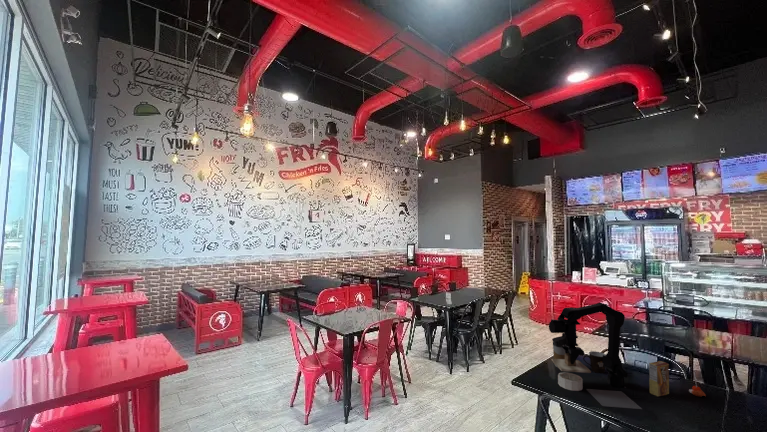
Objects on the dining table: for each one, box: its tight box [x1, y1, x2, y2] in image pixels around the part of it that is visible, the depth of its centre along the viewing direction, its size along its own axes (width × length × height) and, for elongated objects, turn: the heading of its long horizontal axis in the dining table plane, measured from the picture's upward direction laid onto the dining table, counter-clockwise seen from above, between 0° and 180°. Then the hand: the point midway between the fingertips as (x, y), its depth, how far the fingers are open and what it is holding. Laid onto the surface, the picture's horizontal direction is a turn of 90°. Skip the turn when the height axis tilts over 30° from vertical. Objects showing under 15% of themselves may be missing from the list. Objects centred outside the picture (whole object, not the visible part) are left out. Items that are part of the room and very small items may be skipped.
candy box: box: [648, 360, 670, 397], centre depth 169 cm, size 9×4×15 cm, turn 110°
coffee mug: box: [582, 350, 607, 375], centre depth 196 cm, size 12×9×10 cm
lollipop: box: [688, 371, 707, 397], centre depth 167 cm, size 6×10×12 cm, turn 146°
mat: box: [585, 388, 643, 410], centre depth 162 cm, size 17×17×1 cm
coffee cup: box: [552, 342, 565, 368], centre depth 202 cm, size 8×8×15 cm
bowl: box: [557, 371, 584, 392], centre depth 175 cm, size 11×11×5 cm
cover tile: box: [551, 353, 592, 374], centre depth 176 cm, size 14×14×6 cm
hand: (570, 362), depth 176 cm, fingers closed on cover tile, 4 cm apart
